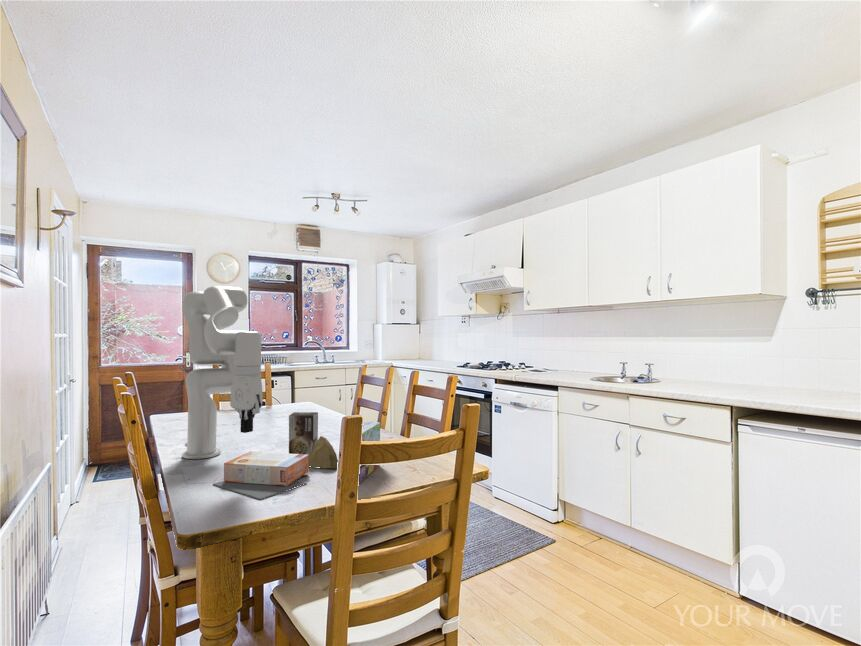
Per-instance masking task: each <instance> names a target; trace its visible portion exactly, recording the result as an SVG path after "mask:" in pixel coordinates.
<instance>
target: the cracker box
mask: <svg viewBox="0 0 861 646" xmlns="http://www.w3.org/2000/svg"><path fill="white" fill-rule="evenodd" d="M309 468H310V467H309V455H308V454H289V452H288V453H286V452H267V451H266V452H265V451H264V452H263V451H253V450H252V451H249V452H245V453H243V454H242V455H239V456H237V457H235V458H233V459H230V460H228V461H226V462H224V463H223V481H224V482H238V483H252V484H267V485H281V486H288V485H289V484H291V483H292V482H294V481H295V480H299V479H300V478H301V477H303V476H304V475H306V474H307V473H309V471H310V470H309Z"/></svg>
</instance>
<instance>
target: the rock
mask: <svg viewBox="0 0 861 646" xmlns="http://www.w3.org/2000/svg"><path fill="white" fill-rule="evenodd" d="M337 462H338V463H339V460H338V457H337V453H336V451H335V449H334V447H333V445H332V444H331V443H330V442H329V440H328V439H327V438H326V437H324V436H322V435H320V436H319V437H318V441H317V443H316V444H315V446H314V448H313V450H312V452H311V454H310V455H309V466H311V467H320V468H334V469H333V470H335V468H336V469H338V468H337ZM311 467H310V468H311ZM320 468H319V469H320Z"/></svg>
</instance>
